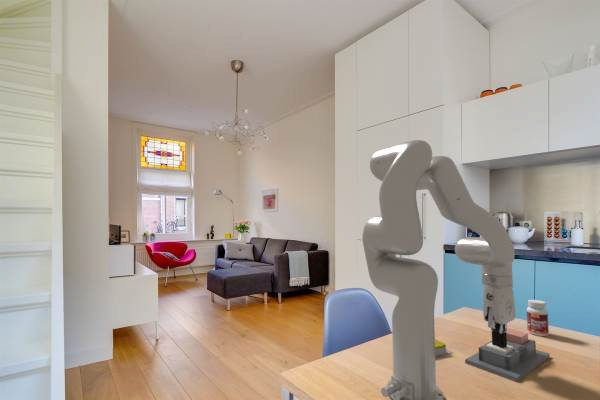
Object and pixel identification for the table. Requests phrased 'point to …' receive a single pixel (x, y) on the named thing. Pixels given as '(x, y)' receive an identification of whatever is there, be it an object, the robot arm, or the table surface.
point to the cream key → (500, 348)
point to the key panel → (509, 360)
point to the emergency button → (441, 348)
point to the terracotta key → (517, 337)
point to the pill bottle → (537, 318)
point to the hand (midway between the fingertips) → (499, 345)
